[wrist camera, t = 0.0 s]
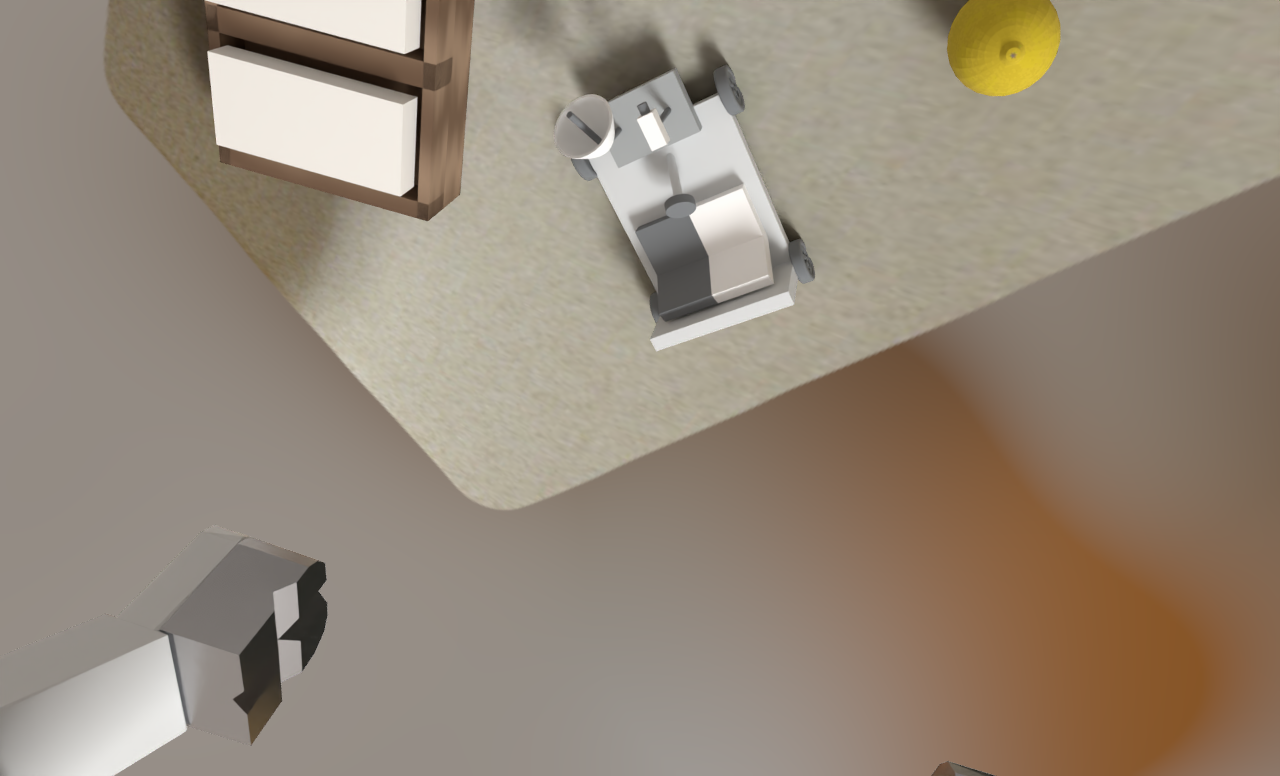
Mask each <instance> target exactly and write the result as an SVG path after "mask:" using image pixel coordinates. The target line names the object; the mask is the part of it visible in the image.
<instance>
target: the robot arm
mask: <svg viewBox="0 0 1280 776" xmlns="http://www.w3.org/2000/svg"><path fill="white" fill-rule="evenodd" d="M326 580H327V579H326V567H325V563H324V562H321V561H319V560H316V559H313V558H310V557H307V556H304V555H301V554H298V553H296V552H293V551H290V550H287V549H284V548H281V547H278V546H275V545H272V544H270V543H267V542H264V541H261V540H258V539H255V538H252V537H250V536H247V535H244V534H241V533H238V532H235V531H232V530H228V529H225V528H222V527H219V526H216V525H213V526H212V527H210V528H208V529H206V530H204V531H202V532H200V533H199V534H198V535H197V536H196V537H195V538H194V539H193V540H192V541H191V542H190V543H189V544H188V545H187V546H186V547H185V548H184V549H183V550H182V551H181V552H180V553H179V554H178V555H177V556H176V557H175V559H174V560H172V561H171V562H170V563H169V564H168V565H167V566H166V568H165V569H164V570H162V571H161V573H159V574H158V576H156V578H155V579H154V580H153V581H152V582H151V583H150V584H149V585H148V586H147V587H146V588H145V589H144V590H143V591H142V592H141V593H140V594H139V595H138V596H137V597H136V598H135V599H134V600H133V601H132V602H131V603H130V604H129V605H128V606H127V607H126V608H125V609H124V610H123V611H122V612H121V613H120V614H119V615H118V616H117V617H115V616H112V615H108V614H104V615H101V616H99V617H96V618H94V619H91V620H89V621H86V622H84V623H81V624H79V625H76V626H74V627H71V628H69V629H66V630H64V631H61V632H59V633H56V634H54V635H51V636H49V637H46V638H44V639H41V640H39V641H36V642H34V643H31V644H29V645H26V646H24V647H21V648H19V649H16V650H14V651H11V652H9V653H6V654H4V655H1V656H0V776H113V775H115V774H117V773H118V772H120V771H122V770H123V769H125V768H127V767H128V766H130V765H131V764H133V763H135V762H136V761H138V760H140V759H141V758H143V757H145V756H146V755H148V754H149V753H151V752H153V751H154V750H156V749H158V748H159V747H161V746H162V745H164V744H166V743H167V742H169V741H171V740H172V739H174V738H175V737H177V736H179V735H180V734H182V733H183V732H185V731H186V730H187V726H189V727H192V728H195V729H199V730H202V731H205V732H208V733H211V734H215V735H218V736H221V737H225V738H228V739H231V740H234V741H237V742H240V743H244V744H247V745H250V746H251V745H252V744H253V742H254V741H255V739H256V738H257V736H258V735H259V734H260V732H261V731H262V729H263V728H264V726H265V725H266V723H267V722H268V721H269V719H270V718H271V716H272V715H273V713H274V712H275V711H276V709H277V708H278V706H279V705H280V703H281V702H282V691H281V682H283V681H285V680H287V679H289V678H291V677H293V676H295V675H297V674H299V673H301V672H302V671H303V670H304V668H305V666H306V665H307V664H308V662H309V661H310V659H311V658H312V656H313V655H314V653H315V651H316V649H317V647H318V644H319V642H320V640H321V638H322V635H323V633H324V630H325V625H326V621H327V616H328V612H327V602H326V600H325V599H324V598H323V596H322V595H321V594H320V593H319V590H320V588H321V587H322V586H323V584H324V583H325V582H326ZM931 776H995V775H992V774H988V773H985V772H982V771H978V770H975V769H971V768H968V767H965V766H961V765H959V764H955V763H952V762H949V761H947V762H944V763H941V764H939V766H938V767H937V768H936V770H935V771H934V772H933V774H932V775H931Z"/></svg>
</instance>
